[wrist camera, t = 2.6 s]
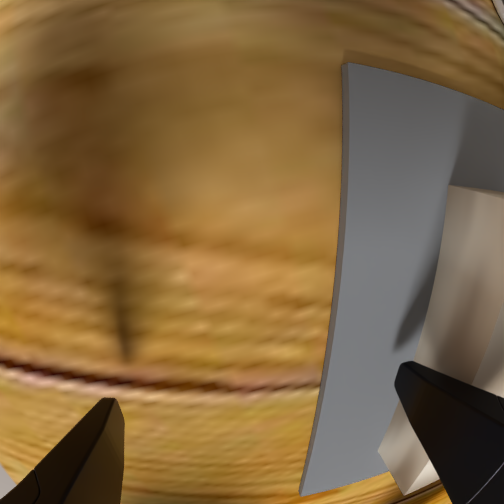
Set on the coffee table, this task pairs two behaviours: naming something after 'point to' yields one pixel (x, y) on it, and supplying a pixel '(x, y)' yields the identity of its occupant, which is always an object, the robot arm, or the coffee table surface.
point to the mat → (389, 251)
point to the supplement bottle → (499, 8)
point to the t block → (458, 320)
